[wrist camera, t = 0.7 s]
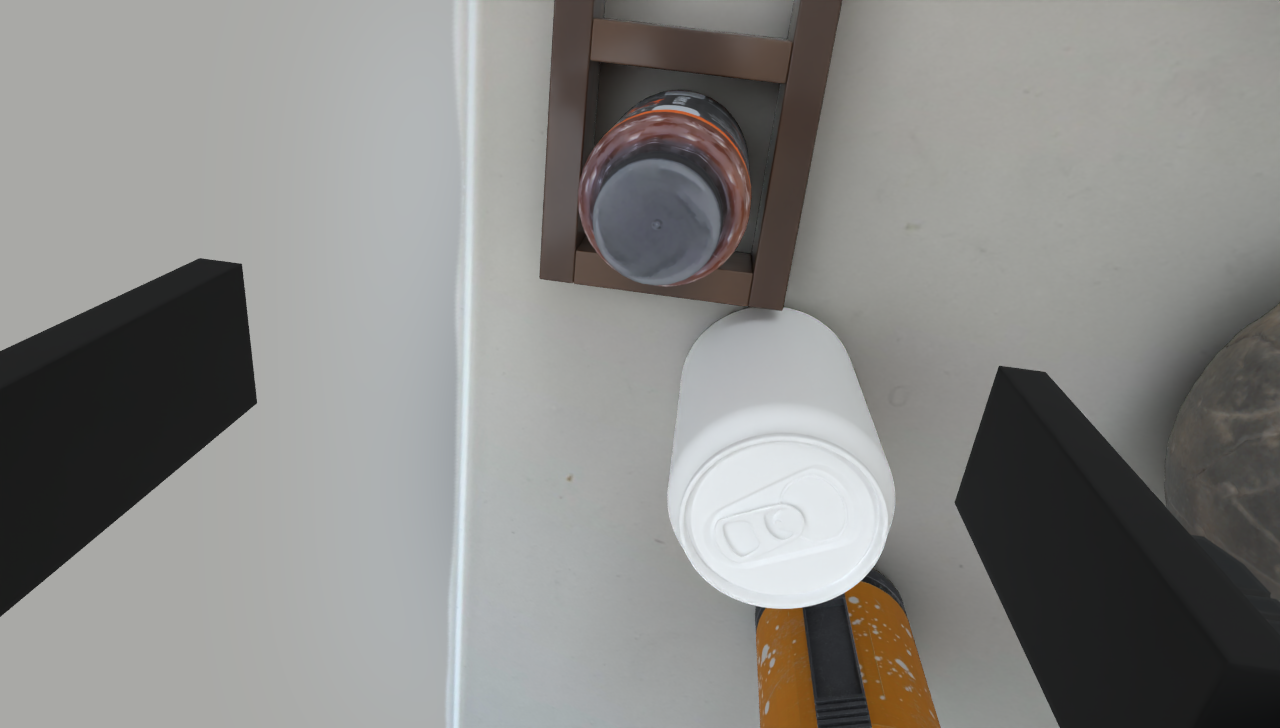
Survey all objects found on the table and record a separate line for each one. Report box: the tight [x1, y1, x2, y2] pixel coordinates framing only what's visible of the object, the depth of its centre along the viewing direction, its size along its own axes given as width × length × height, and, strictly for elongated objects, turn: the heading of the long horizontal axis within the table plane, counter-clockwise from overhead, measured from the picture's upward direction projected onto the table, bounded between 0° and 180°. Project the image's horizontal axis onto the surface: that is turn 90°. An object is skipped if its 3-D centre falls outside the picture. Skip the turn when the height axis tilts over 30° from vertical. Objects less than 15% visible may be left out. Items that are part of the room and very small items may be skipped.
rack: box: [539, 0, 842, 311], centre depth 31 cm, size 10×20×3 cm, turn 174°
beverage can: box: [667, 307, 895, 609], centre depth 33 cm, size 8×8×12 cm
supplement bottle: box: [578, 90, 751, 287], centre depth 29 cm, size 6×6×11 cm
